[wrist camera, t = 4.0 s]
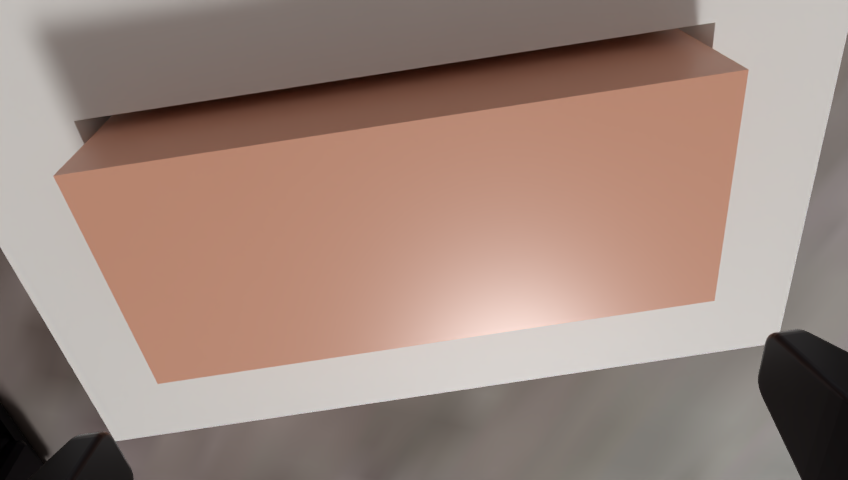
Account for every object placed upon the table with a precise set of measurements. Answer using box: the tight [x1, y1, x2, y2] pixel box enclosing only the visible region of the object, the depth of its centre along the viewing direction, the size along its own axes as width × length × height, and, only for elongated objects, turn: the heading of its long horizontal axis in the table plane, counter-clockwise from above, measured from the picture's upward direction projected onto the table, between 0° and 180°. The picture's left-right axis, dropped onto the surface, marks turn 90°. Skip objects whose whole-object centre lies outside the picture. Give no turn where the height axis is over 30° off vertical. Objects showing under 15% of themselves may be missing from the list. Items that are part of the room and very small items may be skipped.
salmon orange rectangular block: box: [53, 28, 749, 384], centre depth 14 cm, size 12×5×4 cm, turn 97°
